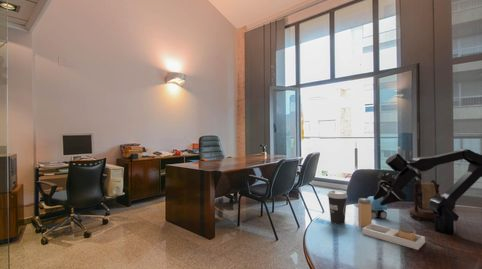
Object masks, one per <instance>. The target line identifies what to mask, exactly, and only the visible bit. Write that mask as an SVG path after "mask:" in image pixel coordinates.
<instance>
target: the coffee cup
mask: <svg viewBox="0 0 482 269" xmlns="http://www.w3.org/2000/svg"><path fill="white" fill-rule="evenodd" d="M326 197H328V199H327V200H328V206H329V208H328V209H329V217H330V222H331V223H333V224H335V223H336V224H335V225H343V224H344V225H345V223H346V209H347V198H348V195H347V192H346V191H344V190H329V191H328V193H327V196H326Z"/></svg>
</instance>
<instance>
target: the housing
mask: <svg viewBox="0 0 482 269" xmlns="http://www.w3.org/2000/svg"><path fill="white" fill-rule="evenodd" d="M398 230H399V229H397V228H391V227H388V226H385V225H381V224H376V223H371V224H369V225H367V226H363V227H362V235H366V236H368V237H369V236H370V237H371V238H372V237H373V238H376V239H380V240H383V241H386V242H391V243H393V244H398V245H401V246H404V247H408V248H411V249H413V250H417V251H418V250H420V248H422V246H423V245H424V244H426V236H423V235H419V234H416V242H414V241H411V240H407V239H403V238H400V237H399V231H398Z"/></svg>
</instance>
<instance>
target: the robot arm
mask: <svg viewBox="0 0 482 269" xmlns="http://www.w3.org/2000/svg"><path fill="white" fill-rule="evenodd" d="M460 160H464V161H465V162H467V163H469V164H468V166H467V170H466V172H465V173H464V174H462V175H461V176H460V178H459V179H458V180H457V181H456V182H455V183H453V185H451V186H450V187H449V188H448V189H447V191H445V193H443V194H440V193H439V194H440V195H439V194H436V195H435V196H434V197H433V198H432V199H430V200H431V201H430V203H429V207H430V209H431V210H432V211H433V212H434V214H435V215H437V216H436V218H435V219H434V221H433V222H434V224H433V226H434V231H436V232H438V233H444V234H448V235H452V236H453V235H455V234H456V233H457V230H456V222H457V221H458V220H459V218H460V217H459V214H457V213H456V212H455V211H454V209H456V208H455V207H456V203H457V201H458V200H459V199H460V198H461V197H462V196H463V195H464V194H465V193H466V192H467V191H468V190H469V189H470V188H471V187H472V186H474V184H476V182H477V181H478V180H479V179H481V178H482V154H480V153H478V152H475V151H472V150H470V149H468V148H467V149H466V148H460V149H458V150H453V151H449V152H445V153H441V154H436V155H432V156H417V157H413V158H411V159H410V160H409V159H408V160H405V159H404V158H403V157H402V155H401V154H400V153H395V154H393V155H391V156H390V157H388V158H386V160H385V164H386V165H387V166H389V168H390V169H392V171H394V172H395V173H396V172H398V173H397V174H396V175H395V174H392V173H390V172H387V173H384V172H382V171H379V173H378V175H377V179H379V181H377V190H376V193H375V195H373V196H374V197H373V199H374V200H377V199H379V198H381V197H383V200H382V201H381V203H380V204H381V205H385V206H387V205H390V204H392V203H395V202H396V203H397V202H401V201H402V202H404V201H405V200H406V199H407V194H406V193H404V191H402V190H403V189H404V188H408V187H409V184H410V183H411V182H413V180H414V179H417V180H418V179H419V180H420V181H421V180H422V179H423V178H422V173H420V172H427V171H430V170H432V169H433V168H435V167H437V166H439V165H445V164H448V163H449V164H450V163H454V162H456V161H460ZM417 171H419V172H417Z"/></svg>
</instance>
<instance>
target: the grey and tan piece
mask: <svg viewBox="0 0 482 269" xmlns="http://www.w3.org/2000/svg"><path fill="white" fill-rule="evenodd" d="M398 228H399V229H397V230H398V231H399V237H400V238H403V239H407V240H411V241H414V242H416V235H417V234H416V228H415V226H412V225H410V224H399V227H398Z"/></svg>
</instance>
